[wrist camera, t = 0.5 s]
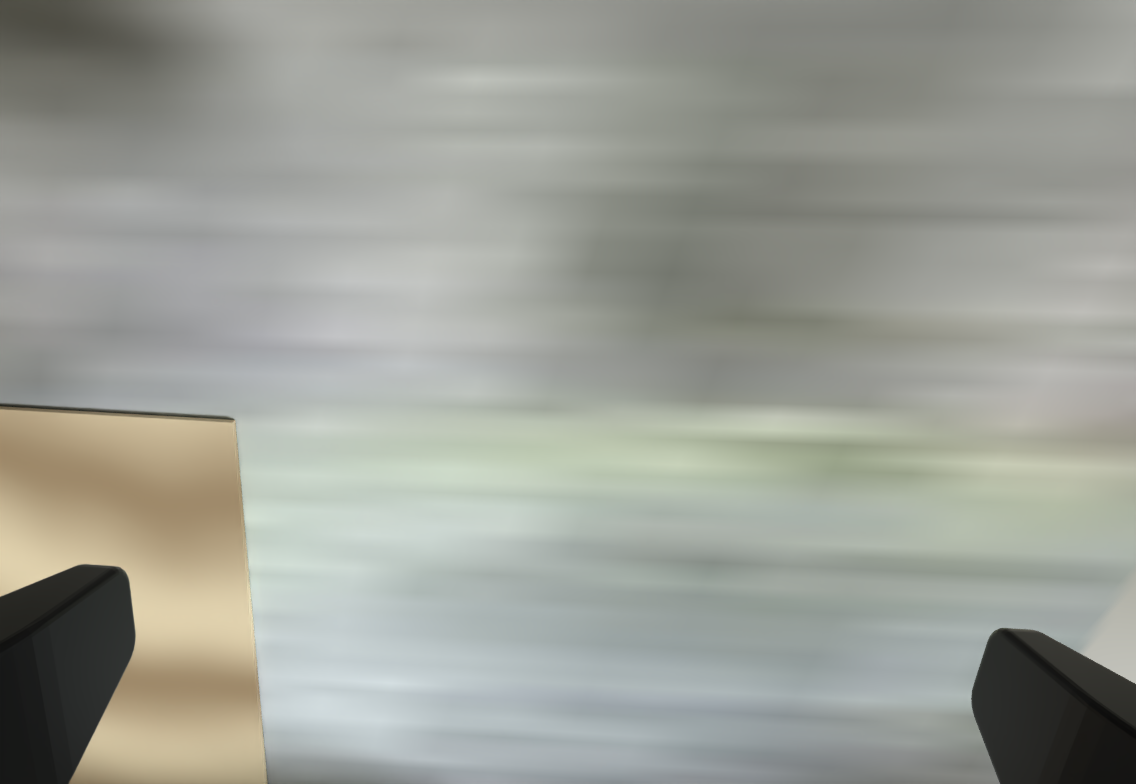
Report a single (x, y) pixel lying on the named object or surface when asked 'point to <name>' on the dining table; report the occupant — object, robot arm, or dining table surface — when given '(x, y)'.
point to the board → (147, 580)
